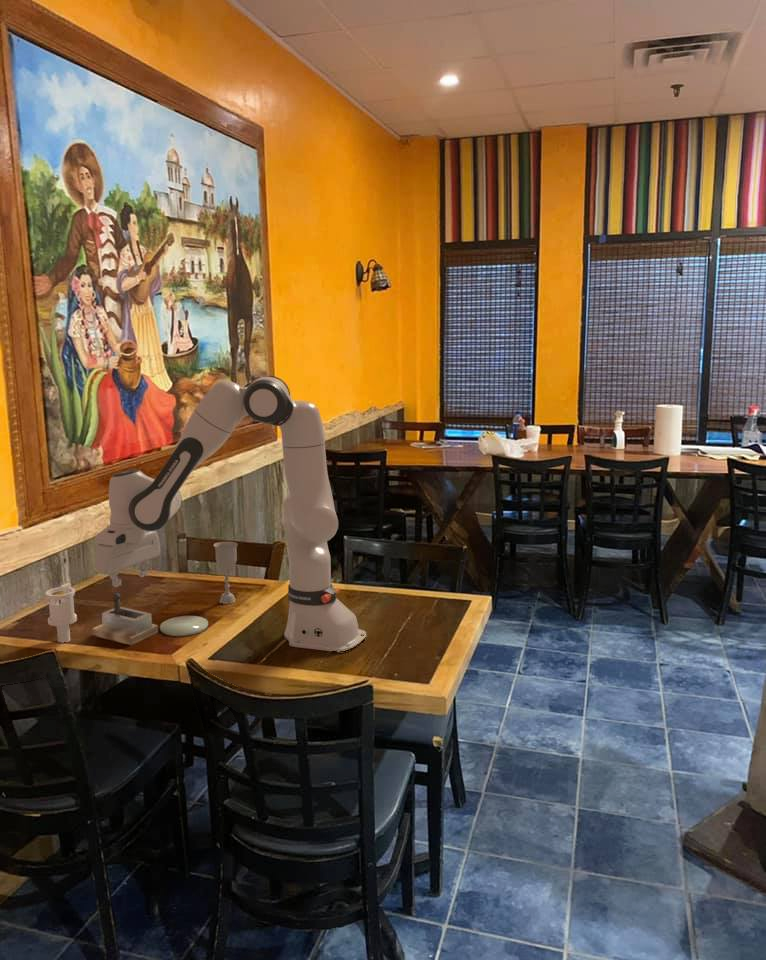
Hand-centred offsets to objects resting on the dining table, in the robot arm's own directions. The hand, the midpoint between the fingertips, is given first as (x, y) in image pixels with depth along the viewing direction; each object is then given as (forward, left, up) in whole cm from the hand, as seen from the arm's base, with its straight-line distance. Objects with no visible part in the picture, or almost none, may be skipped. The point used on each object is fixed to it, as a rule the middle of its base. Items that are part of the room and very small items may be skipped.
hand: (130, 581), depth 203 cm
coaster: (-8, -11, -16) cm, 21 cm away
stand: (+3, 0, -16) cm, 16 cm away
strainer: (+14, +11, -16) cm, 24 cm away
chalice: (-6, -33, -16) cm, 37 cm away
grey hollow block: (+2, 0, -14) cm, 14 cm away
